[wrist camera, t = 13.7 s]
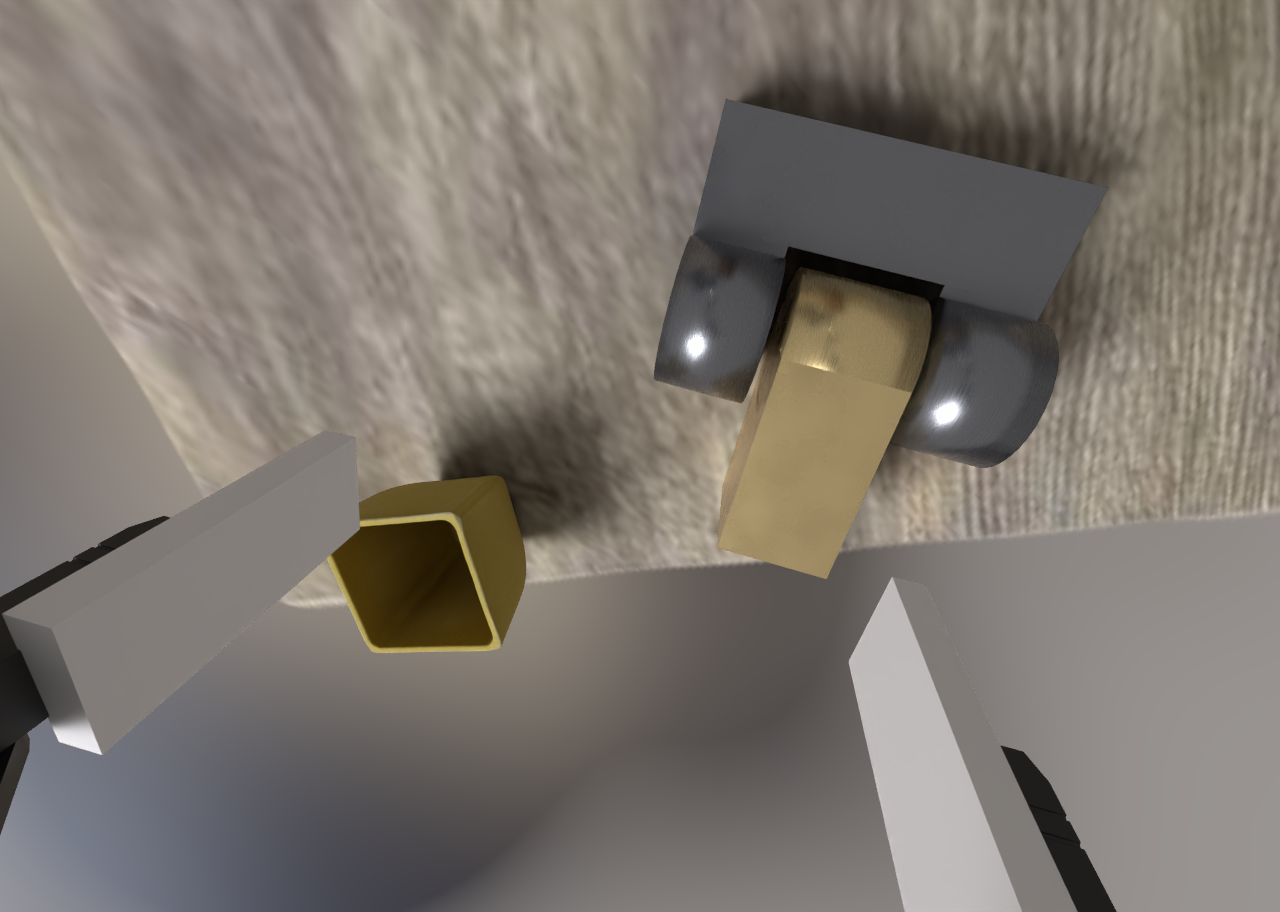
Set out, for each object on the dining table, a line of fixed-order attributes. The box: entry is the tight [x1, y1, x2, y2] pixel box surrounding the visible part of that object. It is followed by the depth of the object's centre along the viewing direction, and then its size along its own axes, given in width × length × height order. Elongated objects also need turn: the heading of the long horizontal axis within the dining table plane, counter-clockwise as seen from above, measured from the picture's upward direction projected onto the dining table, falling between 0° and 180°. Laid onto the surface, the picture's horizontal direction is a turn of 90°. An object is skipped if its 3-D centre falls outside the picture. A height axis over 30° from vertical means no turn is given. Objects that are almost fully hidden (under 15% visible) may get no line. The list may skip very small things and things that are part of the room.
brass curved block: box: [717, 267, 931, 579], centre depth 28 cm, size 14×6×7 cm, turn 167°
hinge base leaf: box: [654, 99, 1108, 468], centre depth 25 cm, size 12×16×7 cm
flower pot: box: [327, 475, 526, 653], centre depth 34 cm, size 9×9×9 cm
